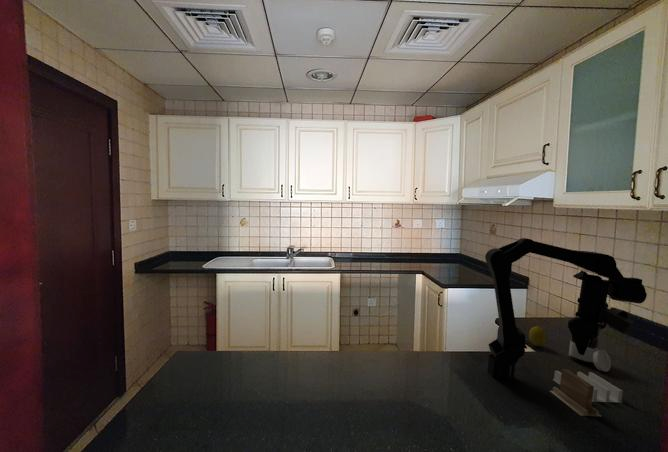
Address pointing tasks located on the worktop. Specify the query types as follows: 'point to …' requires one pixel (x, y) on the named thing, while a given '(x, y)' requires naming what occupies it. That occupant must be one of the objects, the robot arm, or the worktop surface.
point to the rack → (597, 387)
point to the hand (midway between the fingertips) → (584, 350)
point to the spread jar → (591, 355)
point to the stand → (574, 404)
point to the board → (577, 389)
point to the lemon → (537, 336)
